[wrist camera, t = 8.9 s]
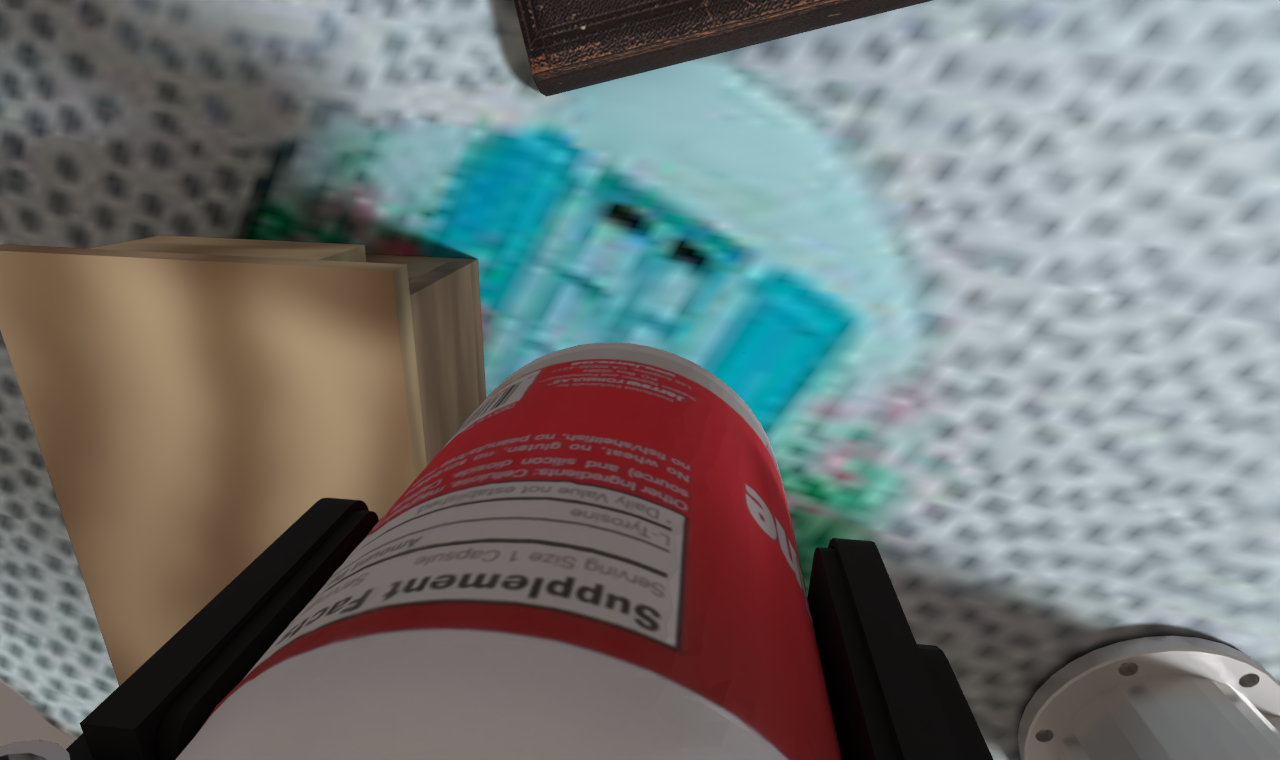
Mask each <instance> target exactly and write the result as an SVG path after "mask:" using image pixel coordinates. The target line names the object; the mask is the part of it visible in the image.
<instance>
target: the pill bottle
mask: <svg viewBox="0 0 1280 760" xmlns="http://www.w3.org/2000/svg"><path fill="white" fill-rule="evenodd" d="M176 760H842V756H841V751H840V747H839V742H838V737H837V733H836V728H835V724H834V719H833V714H832V710H831V705H830V701H829V696H828V691H827V687H826V682H825V677H824V673H823V668H822V664H821V659H820V654H819V649H818V645H817V640H816V635H815V630H814V625H813V620H812V617H811V613H810V608H809V603H808V599H807V595H806V590H805V585H804V580H803V575H802V571H801V566H800V561H799V556H798V551H797V546H796V542H795V537H794V533H793V528H792V523H791V519H790V514H789V510H788V504H787V500H786V495H785V491H784V487H783V482H782V478H781V474H780V470H779V467H778V463H777V460H776V457H775V454H774V451H773V449H772V446H771V443H770V441H769V439H768V437H767V435H766V433H765V431H764V429H763V427H762V426H761V424H760V422H759V421H758V420H757V418H756V417H755V415H754V414H753V412H752V411H751V410H750V408H749V407H748V406H747V405H746V403H745V402H744V401H743V400H742V399H741V398H740V397H739V396H738V395H737V394H736V393H735V392H734V391H733V390H732V389H731V388H730V387H729V386H727V385H726V384H725V383H724V382H723V381H722V380H720V379H719V378H717V377H716V376H714V375H713V374H712V373H710V372H709V371H707V370H705V369H704V368H702V367H700V366H699V365H697V364H695V363H693V362H691V361H689V360H687V359H685V358H682V357H680V356H678V355H675V354H673V353H669V352H666V351H663V350H660V349H656V348H652V347H648V346H643V345H637V344H630V343H593V344H584V345H578V346H574V347H570V348H566V349H563V350H559V351H556V352H553V353H551V354H548V355H546V356H543V357H541V358H538V359H536V360H534V361H533V362H531V363H529V364H527V365H526V366H524V367H522V368H521V369H519V370H518V371H516V372H514V373H513V374H512V375H511V376H509V377H508V378H507V379H506V380H505V381H503V382H502V383H501V384H500V385H499V386H498V387H497V388H496V389H495V390H494V391H493V392H492V393H491V394H490V395H489V396H488V397H487V398H486V399H485V400H484V401H483V402H482V403H481V404H480V405H479V406H478V408H477V409H476V410H475V411H474V412H473V413H472V415H471V416H470V417H469V418H468V419H467V420H466V421H465V422H464V424H463V425H462V426H461V428H460V429H459V430H458V431H457V432H456V434H455V435H454V436H453V437H452V438H451V439H450V440H449V441H448V443H447V444H446V445H445V446H444V447H443V448H442V450H441V451H440V452H439V453H438V454H437V455H436V456H435V457H434V458H433V459H432V461H431V462H430V463H429V464H428V465H427V467H426V468H425V469H424V470H423V471H422V472H421V473H420V475H419V476H418V477H417V478H416V479H415V480H414V481H413V483H412V484H411V485H410V486H409V487H408V489H407V490H406V491H405V492H404V493H403V494H402V496H401V497H400V498H399V499H398V500H397V501H396V502H395V504H394V505H393V506H392V507H391V508H390V509H389V511H388V512H387V513H386V514H385V516H384V517H383V518H381V519H380V520H379V521H378V522H377V524H376V525H375V526H374V527H373V529H372V530H371V531H370V533H369V534H368V535H367V536H366V537H365V538H364V539H363V541H362V542H361V543H360V544H359V545H358V546H357V547H356V548H355V549H354V551H353V552H352V553H351V554H350V555H349V557H348V558H347V559H346V560H345V562H344V563H343V564H342V565H341V566H340V567H339V568H338V569H337V570H336V571H335V572H334V574H333V575H332V576H331V577H330V579H329V580H328V581H327V583H326V584H325V585H324V586H323V587H322V588H321V590H320V591H319V592H318V593H317V594H316V595H315V596H314V598H313V599H312V600H311V601H310V602H309V603H308V604H307V606H306V607H305V608H304V609H303V610H302V611H301V612H300V613H299V614H298V616H297V617H296V618H295V619H294V620H293V621H292V622H291V623H290V624H289V626H288V627H287V628H286V629H285V631H284V632H283V633H282V634H281V635H280V636H279V637H278V638H277V640H276V641H275V642H274V643H273V644H272V645H271V647H270V648H269V649H268V650H267V651H266V653H265V654H264V655H263V656H262V657H261V658H260V660H259V661H258V662H257V663H256V664H255V666H254V667H253V668H252V669H251V670H250V671H249V673H248V674H247V675H246V676H245V677H244V679H243V680H242V681H241V682H240V683H239V684H238V685H237V686H236V687H235V688H234V689H233V690H232V691H231V692H230V693H229V694H228V695H227V696H226V697H225V698H224V699H223V700H222V701H221V702H220V703H219V704H218V705H217V706H216V707H215V709H214V710H213V712H212V713H211V715H210V716H209V717H208V719H207V720H206V722H205V723H204V725H203V726H202V727H201V729H200V730H199V732H198V733H197V735H196V736H195V737H194V738H193V739H192V741H191V742H190V743H189V744H188V745H187V747H186V748H185V749H184V750H183V751H182V753H181V754H180V755H179V756H178V757H177V758H176Z"/></svg>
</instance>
